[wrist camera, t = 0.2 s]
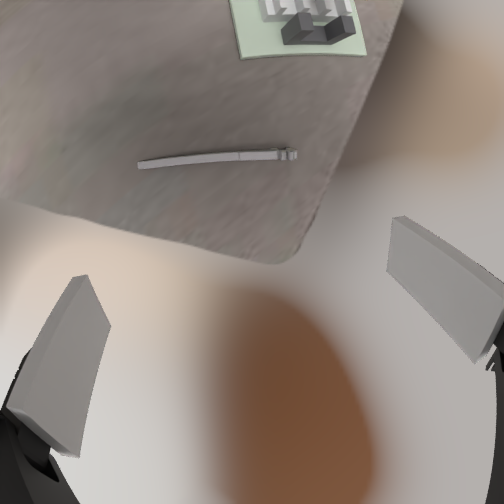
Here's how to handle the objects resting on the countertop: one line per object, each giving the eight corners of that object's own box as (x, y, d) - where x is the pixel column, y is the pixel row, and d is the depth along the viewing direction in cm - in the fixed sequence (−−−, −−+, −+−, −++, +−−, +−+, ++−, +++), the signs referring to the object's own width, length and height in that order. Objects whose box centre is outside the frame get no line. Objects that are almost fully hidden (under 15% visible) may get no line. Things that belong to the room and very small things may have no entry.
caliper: (288, 146, 36) (304, 151, 31) (288, 154, 37) (304, 160, 31) (137, 161, 34) (125, 169, 28) (138, 169, 34) (127, 178, 28)
